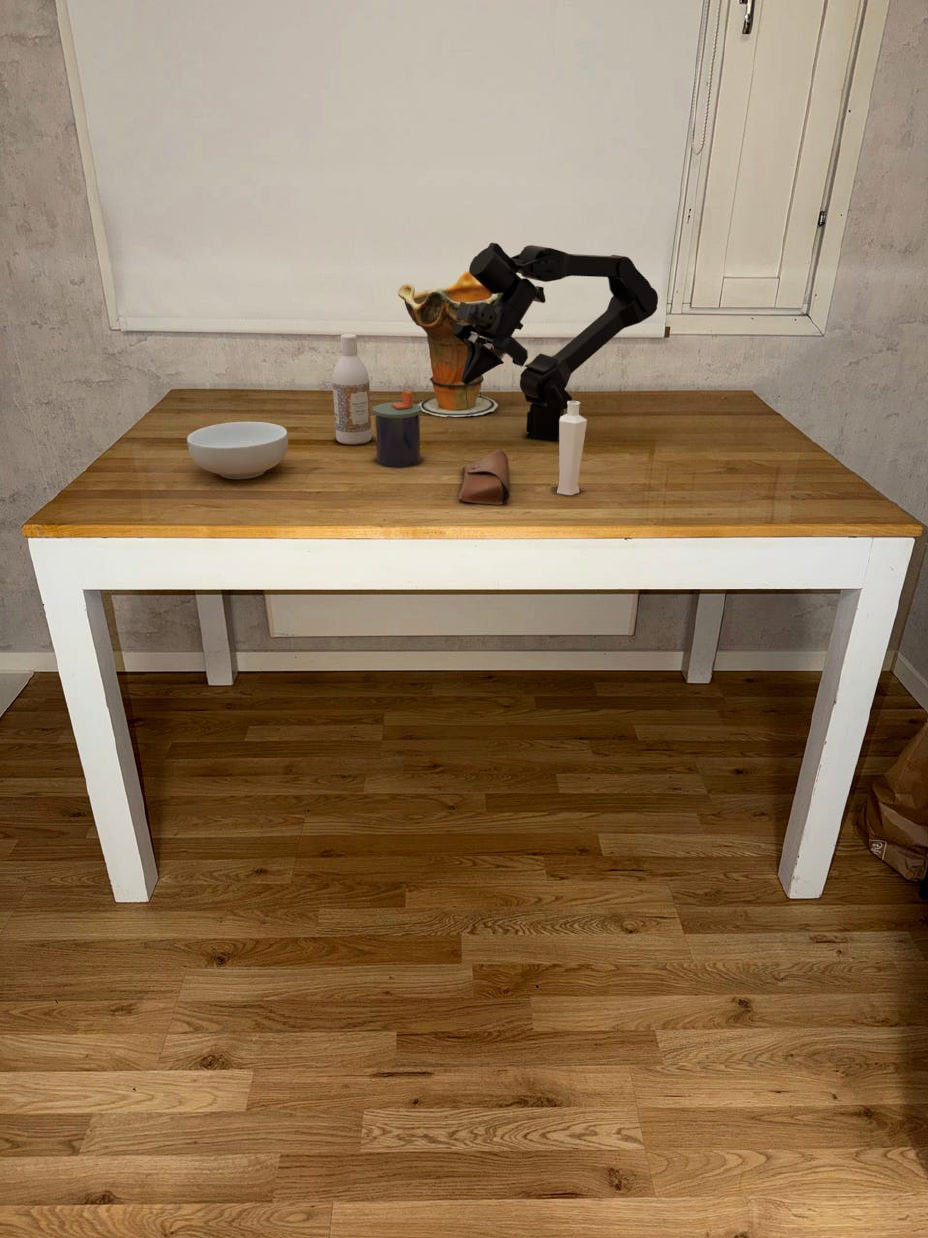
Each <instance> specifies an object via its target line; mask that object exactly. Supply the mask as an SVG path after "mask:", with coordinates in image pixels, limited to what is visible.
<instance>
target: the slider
mask: <svg viewBox="0 0 928 1238" xmlns="http://www.w3.org/2000/svg"><path fill="white" fill-rule="evenodd" d="M401 402H402V403H395V404H391V406H392V407H394V408H396V409H398V410H399V409H406V408H413V405H412V403H413V392H411V391H410V390H407V389H403V390H402V401H401Z"/></svg>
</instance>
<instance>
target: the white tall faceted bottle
mask: <svg viewBox="0 0 928 1238" xmlns="http://www.w3.org/2000/svg"><path fill="white" fill-rule="evenodd" d="M567 404H568V409H566V410H567V411H566V413H564V415H563V416H561V417H560V420H559V439H558V440H559V441H558V443H559V445H558V447H559V449H558V450H559V453H558V455H559V456H558V457H559V460H558V462H559V467H558V469H559V470H558V471H559V472H558V473H559V479H558V480H559V481H558V482H559V483H558V486H557V490H556V493H557V494H559V495H566V496H573V495H576V494H578V493H580V488H579V487H580V486H579V477H580V470H581V464H582V458H583V451H584V444H585V437H586V431H587V424H588V419H586V418H585V417H584V416H582V415H580V405H581V401H577V400H572V401H568V402H567Z"/></svg>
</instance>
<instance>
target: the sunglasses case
mask: <svg viewBox="0 0 928 1238" xmlns="http://www.w3.org/2000/svg"><path fill="white" fill-rule="evenodd" d="M509 463H510V462H509V458H508V455H507V454H506V452H505V451H504V450H503V449H501V448H500V449H497V450H494V451H492V452H490V453H488V454H487V455H485V456H483V457H482V458H481V459H479V460H476V461H473V462H470V463H467V464H466V465H464V466H463V467H462V471H463V476H462V478H463V479H462V483H461V488H460V491H459V495H458V500H459V501H461V502H464V503H470V504H476V505H477V504H478V505H491V506H493V505H494V506H502V505H504V504H506V503H507V502H508V500H510V493H511V492H510V488H511V487H510V464H509Z"/></svg>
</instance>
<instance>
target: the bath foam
mask: <svg viewBox="0 0 928 1238" xmlns="http://www.w3.org/2000/svg"><path fill="white" fill-rule="evenodd" d="M357 339H358V338H357V335H356V334H353V333H345V334H341V335H340V348H341V350H340V351H341V356H340V357H339V359H338V361H337V363H336V365H335V367H334V370H333V372H332V393H333V394H332V395H333V409H334V412H333V413H334V427H335V428H334V429H335V439H336V441H337V442H338V443H340V444H343V445H350V446H351V445H355V446H356V445H357V446H358V445H363V444H366V443H368V442H370V441H371V440H372V417H371V416H372V415H371V414H372V413H371V393H370V391H371V390H370V388H371V387H370V376H369V373H368V370H367V367H366V366H365V364H364V363H363V361H362V360H361V358H360V357H359V355H358V341H357Z"/></svg>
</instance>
